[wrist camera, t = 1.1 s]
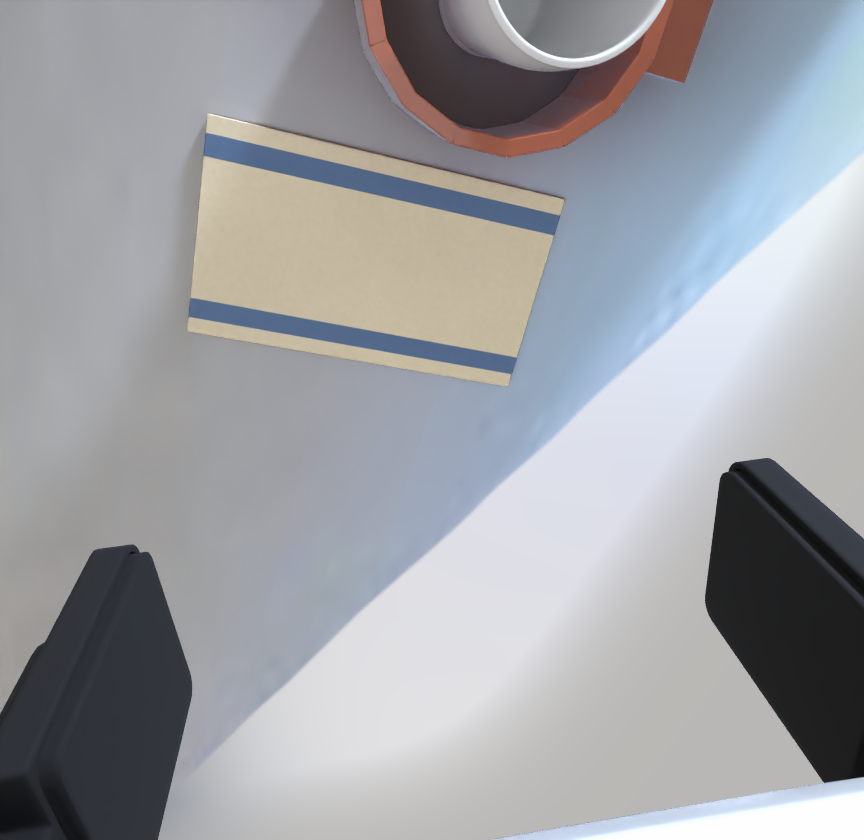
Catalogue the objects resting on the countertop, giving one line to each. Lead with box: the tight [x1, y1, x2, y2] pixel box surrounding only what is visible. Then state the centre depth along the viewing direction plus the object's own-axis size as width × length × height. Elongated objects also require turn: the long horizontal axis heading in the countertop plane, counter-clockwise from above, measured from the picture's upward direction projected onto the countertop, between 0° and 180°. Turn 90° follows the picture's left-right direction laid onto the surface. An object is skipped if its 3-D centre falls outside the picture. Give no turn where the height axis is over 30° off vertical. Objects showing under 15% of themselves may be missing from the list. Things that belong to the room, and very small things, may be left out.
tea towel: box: [187, 114, 565, 387], centre depth 40 cm, size 20×12×1 cm, turn 77°
